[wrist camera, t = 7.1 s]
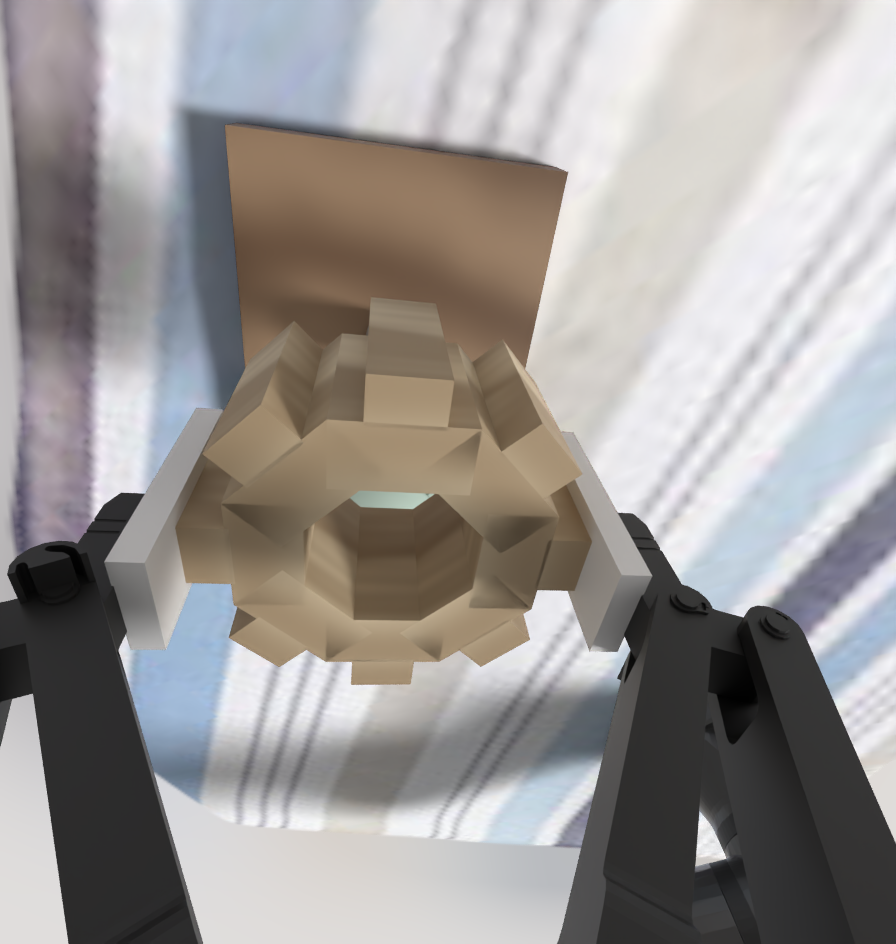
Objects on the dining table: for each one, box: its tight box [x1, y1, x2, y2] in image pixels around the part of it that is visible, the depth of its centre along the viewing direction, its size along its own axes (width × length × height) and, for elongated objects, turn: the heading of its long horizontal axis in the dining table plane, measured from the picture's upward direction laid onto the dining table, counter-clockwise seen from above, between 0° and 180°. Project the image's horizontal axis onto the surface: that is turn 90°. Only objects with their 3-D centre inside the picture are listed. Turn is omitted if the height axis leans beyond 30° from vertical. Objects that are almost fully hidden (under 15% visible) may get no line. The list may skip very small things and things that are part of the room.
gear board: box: [225, 123, 568, 368], centre depth 29 cm, size 26×14×6 cm, turn 173°
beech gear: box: [175, 297, 592, 685], centre depth 16 cm, size 10×10×5 cm
